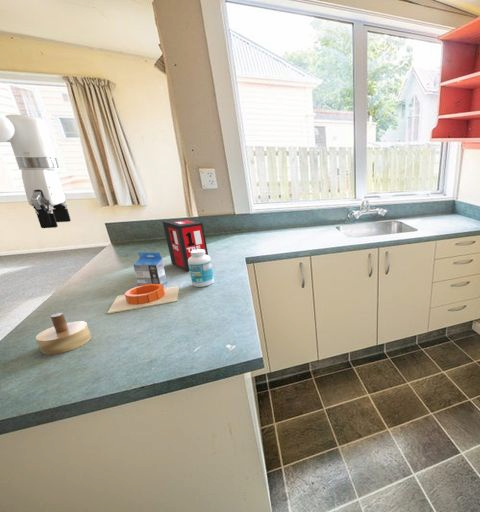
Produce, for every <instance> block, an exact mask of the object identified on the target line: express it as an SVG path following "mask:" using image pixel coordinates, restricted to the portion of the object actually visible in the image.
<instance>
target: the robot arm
mask: <svg viewBox="0 0 480 512" xmlns="http://www.w3.org/2000/svg"><path fill="white" fill-rule="evenodd" d="M50 135H51V134H50V133H49V128H48V125H47V122H46V121H45V120H44V119H43V118H41V117H38V116H33V115H24V114H23V115H22V114H6V115H3V114H2V113H0V143H9V144H10V145H11V149H12V152H13V155H14V157H15V161H16V163H17V164H16V165H17V167H18V170H20V171H21V179H22V183H23V187H24V191H25V196H26V199H27V203H28V205H29V206H31V207H33V209H34V212H35V214H36V216H37V219H38V223H39V225H40V228H41V229H54V228H58V227H59V226H58V223H69V222H71V221H72V220H71V217H70V213H69V209H68V206H67V203H66V196H65V192H64V188H63V185H62V183H61V179H60V177H59V175H58V172H57V171H59V170H60V167H59V163H58V159H57V156H56V153H55V149H54V145H53V143H52V139H51V136H50Z"/></svg>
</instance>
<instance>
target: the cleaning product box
mask: <svg viewBox="0 0 480 512" xmlns="http://www.w3.org/2000/svg"><path fill="white" fill-rule="evenodd" d="M162 227H163V229H164V234H165V238H166V244H167V247H168V252H169V257H170V263H171V265H173V266H175V265H176V267H177V266H178V267H177V268H180V269H182V270H184V269H185V270H184V271H186V270H187V271H186V272H188V271H190V270H189V265H188V259H189V258H190V257H191V251H192V250H196V249H204V250H205V255H208V256H209V252H208V245H207V240H206V235H205V229H204V224H203V222H201V221H196V220H192V219H189V218H185V217H184V218H178V219H177V218H176V219H171V220H170V219H169V220H163V221H162Z"/></svg>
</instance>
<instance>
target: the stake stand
mask: <svg viewBox="0 0 480 512" xmlns="http://www.w3.org/2000/svg"><path fill="white" fill-rule="evenodd" d="M50 319H51V322H52V325H53V326H51V327H49V328H46V329H43V330H42V331H40V332H39V333H38V334H36V336H35V341H36V343H37V345H38V347H39V348H38V349H39V350H40V352H41V354H43V355H47V356H50V355H51V356H52V355H59V354H63V353H67V352H69V351H73V350H76V349H78V348H80V347H82V346H84V345H86V344H87V343H89V342H90V341H91V339H92V334H91V331H90V327H89V325H88V323H87V322H86V321H82V320H78V321H76V320H75V321H69V322H67V320H66V317H65V315H64V313H63V312H57V313H54V314H51V315H50Z"/></svg>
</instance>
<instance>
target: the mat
mask: <svg viewBox="0 0 480 512" xmlns="http://www.w3.org/2000/svg"><path fill="white" fill-rule="evenodd" d="M164 290H165V295H164V297H162V298H160V299H158V300H156V301H153V302H150V303H145V304H138V305H136V304H129V303H127V301H126V297H125V294H119V295H117V296H116V298H115V300H114V301H113V302H112V303H111V306H110V307H109V309H108V311H107V312H106V314H107V315H111V314H116V313H122V312H127V311H132V310H137V309H143V308H148V307H155V306H159V305H167V304H171V303H176V302H177V301H178V297H179V293H180V292H179V291H180V285H175V286H169V287H164Z"/></svg>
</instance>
